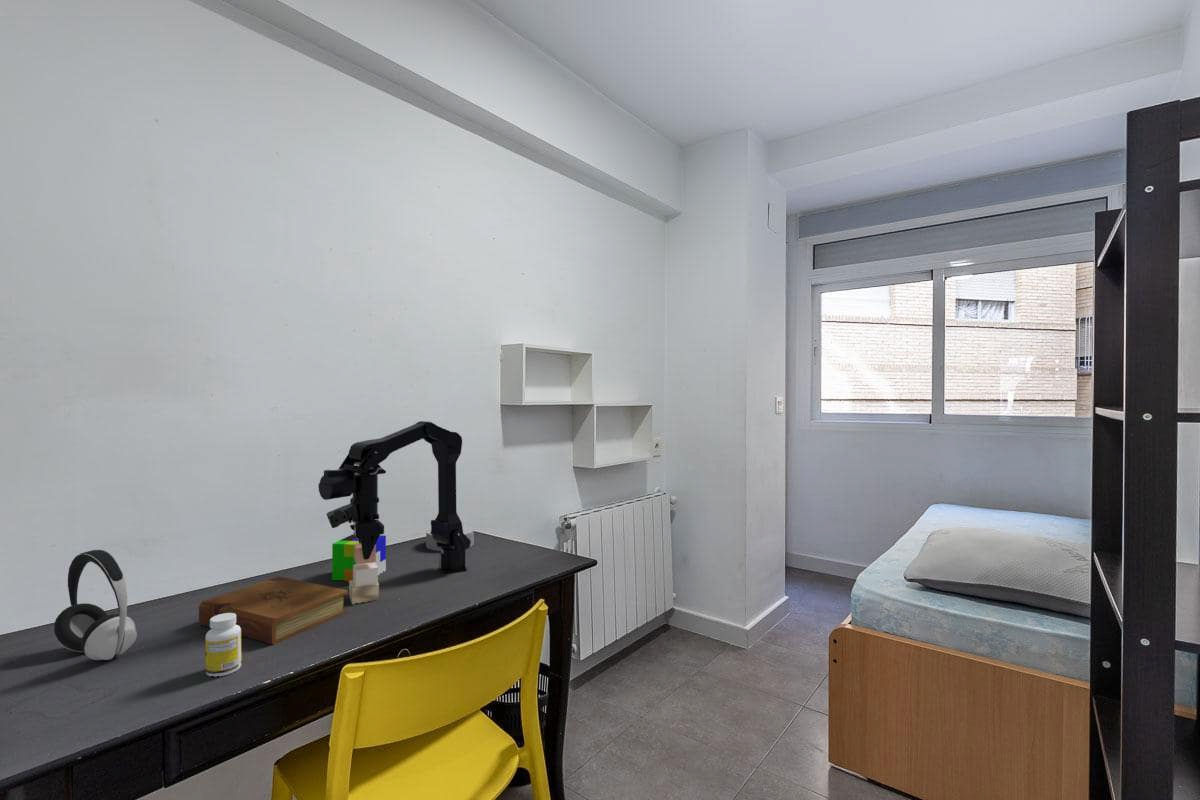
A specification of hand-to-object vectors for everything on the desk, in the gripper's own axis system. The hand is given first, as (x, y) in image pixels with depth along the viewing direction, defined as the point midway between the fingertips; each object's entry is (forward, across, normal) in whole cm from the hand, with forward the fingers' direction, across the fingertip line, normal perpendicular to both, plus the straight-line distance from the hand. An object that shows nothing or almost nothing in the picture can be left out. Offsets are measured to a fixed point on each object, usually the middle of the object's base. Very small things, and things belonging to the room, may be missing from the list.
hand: (365, 556), depth 138 cm
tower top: (+6, 0, 0) cm, 6 cm away
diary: (+11, +4, -19) cm, 22 cm away
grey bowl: (+11, -38, +31) cm, 50 cm away
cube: (+1, 0, 0) cm, 1 cm away
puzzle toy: (+10, -19, +1) cm, 22 cm away
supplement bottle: (+10, +26, -27) cm, 39 cm away
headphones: (+10, +7, -49) cm, 51 cm away
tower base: (+10, 0, 0) cm, 10 cm away
